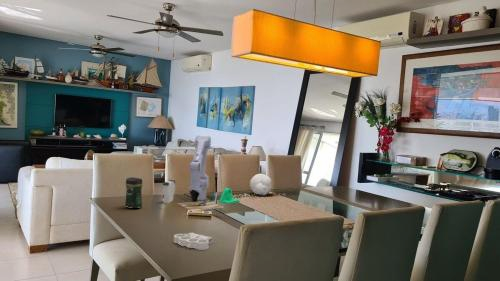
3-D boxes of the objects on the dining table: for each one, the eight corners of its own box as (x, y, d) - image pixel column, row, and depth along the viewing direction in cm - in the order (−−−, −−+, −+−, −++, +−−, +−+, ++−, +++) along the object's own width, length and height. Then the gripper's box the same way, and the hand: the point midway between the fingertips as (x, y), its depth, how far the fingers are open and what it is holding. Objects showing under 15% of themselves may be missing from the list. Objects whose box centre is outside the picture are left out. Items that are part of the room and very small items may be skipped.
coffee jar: (144, 208, 235) (145, 177, 234) (134, 210, 229) (135, 179, 227) (132, 205, 240) (133, 176, 239) (122, 208, 233) (123, 177, 232)
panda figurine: (164, 201, 255) (164, 179, 255) (180, 203, 253) (181, 180, 252) (156, 205, 244) (156, 181, 243) (173, 207, 241) (173, 183, 240)
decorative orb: (259, 191, 305) (260, 171, 304) (278, 194, 295) (279, 174, 294) (244, 194, 289) (244, 173, 288) (263, 198, 279) (264, 176, 278)
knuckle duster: (218, 244, 175) (198, 253, 163) (188, 236, 184) (166, 244, 172) (219, 237, 175) (198, 245, 162) (188, 230, 184) (166, 237, 172)
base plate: (177, 205, 245) (177, 199, 245) (207, 202, 257) (207, 196, 257) (191, 213, 228) (192, 206, 227) (224, 209, 240) (224, 203, 240)
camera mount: (227, 206, 250) (228, 190, 249) (219, 204, 255) (219, 188, 254) (240, 203, 259) (240, 188, 258) (231, 201, 264) (232, 187, 263)
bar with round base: (185, 205, 239) (185, 201, 239) (203, 203, 246) (203, 199, 246) (189, 207, 235) (189, 203, 235) (207, 205, 242) (207, 201, 242)
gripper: (184, 179, 245) (183, 200, 246) (194, 183, 233) (193, 205, 234) (194, 178, 249) (193, 199, 250) (205, 182, 237) (204, 204, 238)
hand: (194, 202), depth 242 cm, fingers closed
